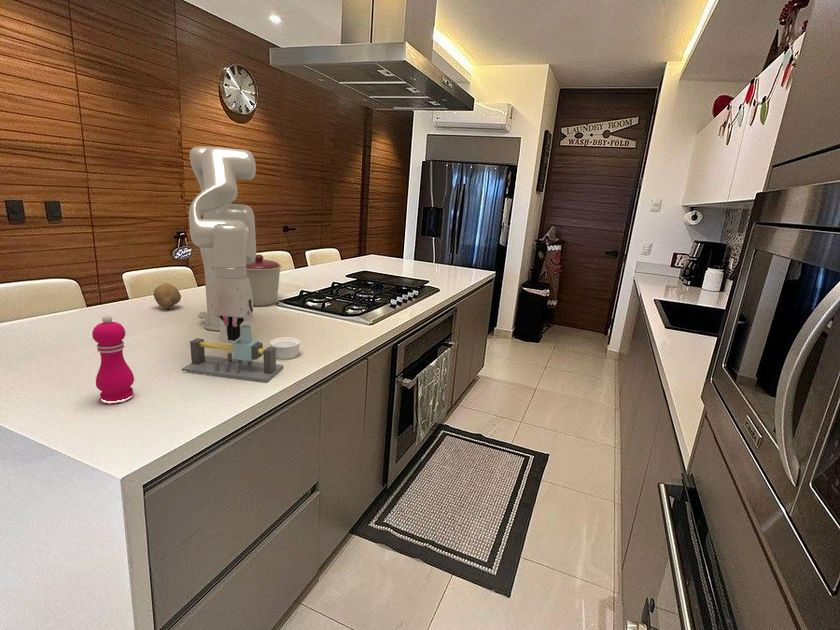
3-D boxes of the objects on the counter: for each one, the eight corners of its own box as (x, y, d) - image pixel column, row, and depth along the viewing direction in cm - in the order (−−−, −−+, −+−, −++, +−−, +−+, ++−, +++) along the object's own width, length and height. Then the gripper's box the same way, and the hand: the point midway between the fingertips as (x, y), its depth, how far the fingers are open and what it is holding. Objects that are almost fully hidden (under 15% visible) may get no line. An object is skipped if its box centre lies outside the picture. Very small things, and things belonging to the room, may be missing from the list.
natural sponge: (175, 304, 176) (173, 280, 173) (186, 309, 171) (184, 284, 169) (151, 308, 169) (148, 283, 166) (162, 313, 164) (159, 287, 161)
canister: (274, 310, 178) (273, 259, 173) (230, 307, 178) (227, 255, 173) (287, 299, 196) (287, 253, 190) (247, 296, 196) (245, 250, 190)
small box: (252, 339, 144) (251, 309, 141) (240, 344, 139) (239, 313, 136) (232, 335, 146) (231, 305, 143) (220, 340, 141) (218, 309, 138)
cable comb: (181, 371, 117) (179, 342, 114) (204, 358, 126) (202, 331, 124) (266, 382, 114) (265, 353, 112) (283, 368, 123) (282, 340, 121)
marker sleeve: (233, 359, 117) (232, 327, 114) (242, 353, 121) (241, 323, 118) (251, 361, 116) (250, 329, 114) (259, 355, 120) (258, 325, 118)
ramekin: (283, 362, 128) (283, 349, 126) (263, 355, 132) (263, 341, 131) (306, 354, 135) (306, 341, 134) (286, 347, 139) (286, 335, 138)
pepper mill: (110, 390, 104) (99, 310, 99) (142, 391, 105) (133, 311, 99) (90, 405, 97) (78, 319, 92) (125, 406, 98) (114, 321, 92)
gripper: (194, 271, 110) (199, 340, 115) (249, 278, 108) (252, 347, 113) (213, 266, 117) (217, 331, 122) (265, 272, 115) (266, 338, 120)
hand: (233, 338), depth 118 cm, fingers closed
